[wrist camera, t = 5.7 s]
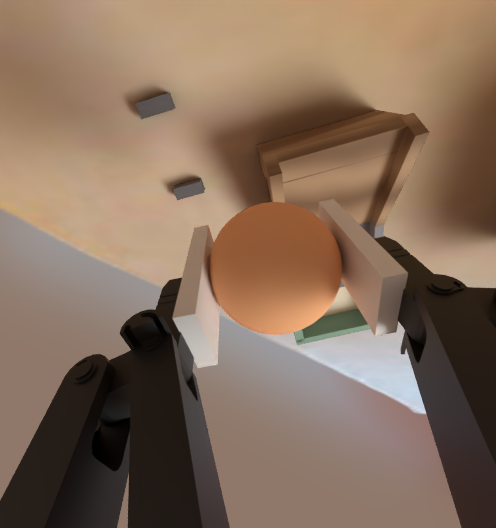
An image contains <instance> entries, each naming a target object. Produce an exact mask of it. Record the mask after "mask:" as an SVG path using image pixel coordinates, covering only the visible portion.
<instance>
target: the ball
mask: <svg viewBox="0 0 496 528" xmlns="http://www.w3.org/2000/svg"><path fill="white" fill-rule="evenodd" d="M209 274H210V281H211V286H212V289H213V292H214V294H215V297H216V299H217V301H218V302H219V304H220V305H221V307H222V308H223V309H224V311H225V312H226V313H227V314H228V315H229V316H230V317H231V318H232V319H233V320H235V321H236V322H237V323H239V324H240V325H242V326H244V327H246V328H248V329H250V330H253V331H256V332H259V333H263V334H273V335H278V334H288V333H292V332H296V331H299V330H301V329H304V328H306V327H308V326H309V325H311V324H313V323H314V322H316V321H317V320H318V319H319V318H321V317H322V316H323V315H324V314H325V312H326V311H327V310H328V309H329V307H330V306H331V305H332V303H333V301H334V300H335V298H336V295H337V293H338V290H339V288H340V284H341V279H342V257H341V253H340V249H339V246H338V244H337V241H336V239H335V237H334V236H333V234H332V232H331V231H330V229H329V228H328V227H327V226H326V225H325V223H324V222H323V221H322V220H321V219H320V218H318V217H317V216H316V215H315V214H313V213H311V212H310V211H308V210H306V209H304V208H302V207H299V206H297V205H294V204H289V203H282V202H268V203H261V204H258V205H254V206H252V207H249V208H247V209H245V210H243V211H241V212H240V213H238V214H237V215H236V216H234V217H233V218H232V219H231V220H230V221H228V222H227V223H226V224H225V226H224V227H223V228H222V230H221V231H220V233H219V234H218V236H217V238H216V240H215V242H214V244H213V247H212V251H211V255H210V260H209Z"/></svg>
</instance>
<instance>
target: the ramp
mask: <svg viewBox="0 0 496 528" xmlns="http://www.w3.org/2000/svg"><path fill="white" fill-rule="evenodd" d="M428 134H429V131H428V130H427V128H426V127H425V126H424V125H423V124H422V122H421V121H420V120H419V119H418V118H417V116H416V115H415V114H414V113H411V114H408V115H403V114H397V113H391V112H385V111H379V110H375V111H371V112H368V113H364V114H361V115H358V116H354V117H351V118H347V119H344V120H341V121H337V122H334V123H330V124H327V125H324V126H320V127H317V128H313V129H310V130H306V131H303V132H300V133H296V134H293V135H289V136H286V137H283V138H279V139H276V140H272V141H269V142H266V143H262V144H259V145H257V150H258V155H259V159H260V164H261V168H262V171H263V173H264V176H265V178H266V180H267V183H268V189H269V195H270V200H271V202H282V203H289V204H294V205H297V206H299V207H302V208H304V209H306V210H308V211H310V212H311V213H313V214H315V215H316V216H317V217H318V218H319V202H321V201H325V200H330V199H334V200H335V201H336V202H337V203H338V204H339V205H340V206H341V207H342V208H343V209H344V210H345V211H346V212H347V213H348V214H349V215H350V216H351V217H352V218H353V219H354V220H355V221H356V222H357V223H358V224H362V223H366V222H370V219H372V220H373V221H374V222H375V227H378V226H382V225H384V224H385V222H386V220H387V217H388V215H389V213H390V211H391V209H392V207H393V205H394V203H395V201H396V199H397V197H398V195H399V193H400V191H401V189H402V187H403V185H404V183H405V181H406V179H407V177H408V175H409V173H410V171H411V169H412V167H413V165H414V163H415V161H416V159H417V157H418V155H419V152H420V150H421V148H422V146H423V144H424V142H425V140H426V138H427V136H428Z"/></svg>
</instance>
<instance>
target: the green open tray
mask: <svg viewBox="0 0 496 528" xmlns="http://www.w3.org/2000/svg"><path fill="white" fill-rule="evenodd" d="M368 329H371V328H370V327H369V325H368V323H367V322H366V320H365V319H364V317H363V315H362V314H361V312H360V310H359V309H358V307H357V305H356V304H355V302H354V300H353V299H352V297H351V296H350V294H349V292H348V291H347V289H346V287H341V288H339V290H338V293H337V295H336V298H335V300H334V301H333V303H332V305H331V306H330V307H329V309H328V310H327V311H326V312H325V314H324V315H323V316H322V317H321V318H319V319H318V320H317V321H316V322H314V323H313V324H311V325H309V326H308V327H306V328H304V329H301V330H299V331H296V332H294V335H295V339H296V342H297V345H300V344H304V343H309V342H314V341H318V340H323V339H327V338H332V337H336V336H341V335H345V334H350V333H354V332H359V331H363V330H368Z"/></svg>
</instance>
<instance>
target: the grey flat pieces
mask: <svg viewBox="0 0 496 528" xmlns="http://www.w3.org/2000/svg"><path fill="white" fill-rule="evenodd" d="M135 105H136V108H137V110H138V112H139V114H140V117H141V119H144V118H147V117H150V116H153V115H156V114H159V113H163V112H166V111H169V110H172V109H175V105H174V103H173V100H172V97H171V94H170V93H167V94H164V95H160V96H157V97H154V98H151V99H148V100H145V101H142V102H139V103H135ZM204 190H205V188H204V185H203V182H202V180H201V178H200V179H196V180H193V181H189V182H186V183H182V184H179V185H175V186H174V188H173V191H174V194H175V196H176V198H177V200H180V199H183V198H187V197H190V196H194V195H197V194H201V193H204Z"/></svg>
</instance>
